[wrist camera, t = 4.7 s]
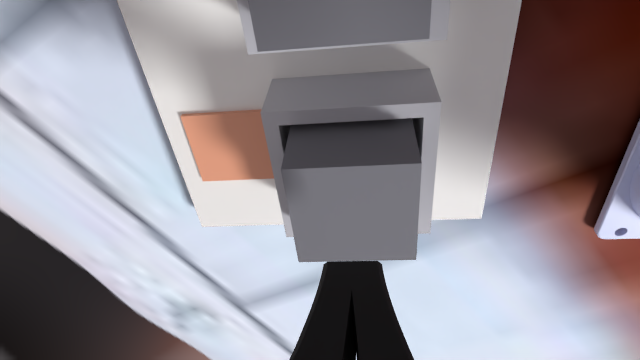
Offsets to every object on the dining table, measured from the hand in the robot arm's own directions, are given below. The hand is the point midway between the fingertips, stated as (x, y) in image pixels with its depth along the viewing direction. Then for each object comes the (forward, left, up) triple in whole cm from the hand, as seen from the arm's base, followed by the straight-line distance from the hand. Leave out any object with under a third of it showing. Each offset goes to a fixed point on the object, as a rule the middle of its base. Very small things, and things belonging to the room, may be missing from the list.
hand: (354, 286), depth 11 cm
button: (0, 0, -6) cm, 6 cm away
